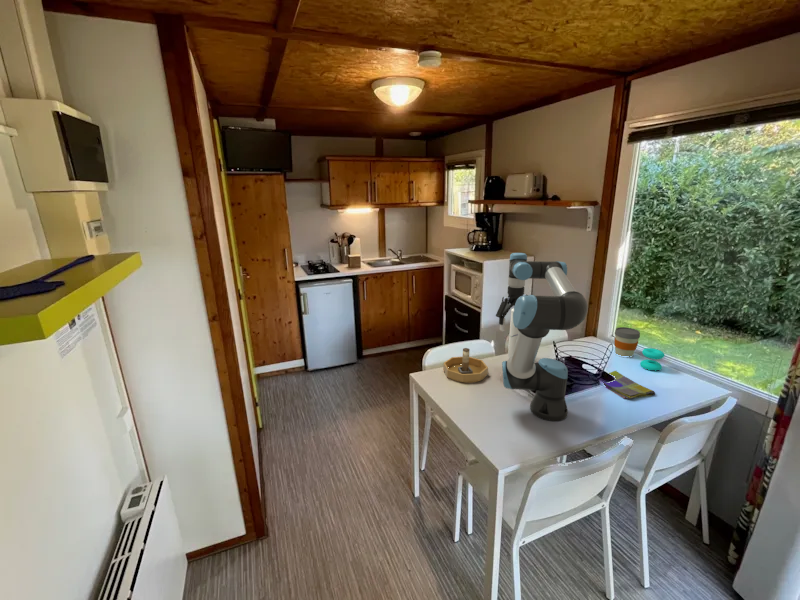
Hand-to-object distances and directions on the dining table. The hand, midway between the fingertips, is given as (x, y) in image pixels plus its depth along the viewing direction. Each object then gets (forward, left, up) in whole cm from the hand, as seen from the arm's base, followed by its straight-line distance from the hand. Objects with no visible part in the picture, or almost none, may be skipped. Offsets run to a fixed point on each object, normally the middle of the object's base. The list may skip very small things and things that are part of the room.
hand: (513, 328), depth 182 cm
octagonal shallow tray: (+13, +19, -29) cm, 37 cm away
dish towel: (-12, -53, -29) cm, 62 cm away
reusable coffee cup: (+22, -80, -29) cm, 88 cm away
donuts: (+4, -82, -29) cm, 87 cm away
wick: (+13, +19, -28) cm, 36 cm away
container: (+24, -14, -29) cm, 40 cm away
